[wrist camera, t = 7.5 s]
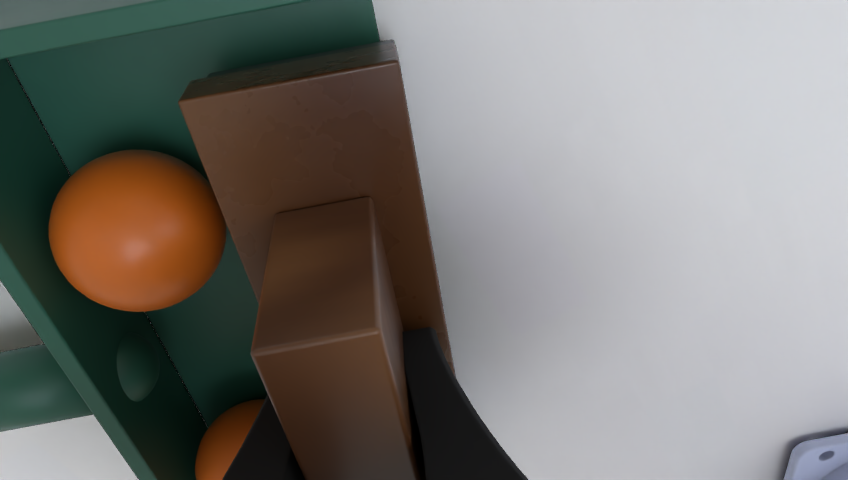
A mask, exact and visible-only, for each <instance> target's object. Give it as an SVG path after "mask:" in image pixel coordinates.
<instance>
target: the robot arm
mask: <svg viewBox="0 0 848 480" xmlns="http://www.w3.org/2000/svg"><path fill="white" fill-rule="evenodd" d="M402 333H403V351H404V365H405V372H406V376H407V380H408V385H409V389H410V393H411V398H412V402H413V406H414V410H415V415H416V419H417V423H418V428H419V432H420V437H421V443H422V448H423V455H424V465H425V475H426V480H528V479H527V478H526V476H525V475H524V474H523V473H522V472H521V471H520V470H519V468H518V467H517V466H516V465H515V463H514V462H513V461H512V460H511V458H510V457H509V456H508V455H507V454H506V452H505V451H504V450H503V448H502V447H501V446H500V445H499V443H498V442H497V441H496V439H495V438H494V437H493V435H492V434H491V432H490V431H489V430H488V428H487V427H486V425H485V424H484V422H483V421H482V420H481V418H480V417H479V415H478V414H477V412H476V411H475V409H474V408H473V406H472V404H471V403H470V401H469V400H468V398H467V396H466V395H465V393H464V391H463V390H462V388H461V386H460V385H459V383H458V381H457V379H456V377H455V376H454V374H453V372H452V370H451V368H450V366H449V364H448V362H447V360H446V358H445V355H444V353H443V351H442V348H441V346H440V343H439V340H438V337H437V333H436V330H435V329H433V328H431V327H426V328H420V329H415V330H410V331H404V332H402ZM222 480H305V478H304V476H303V473H302V471H301V469H300V467H299V464H298V462H297V460H296V457H295V455H294V453H293V451H292V448H291V446H290V444H289V441H288V439H287V437H286V434H285V432H284V430H283V428H282V425H281V423H280V421H279V418H278V416H277V414H276V412H275V409H274V407H273V405H272V402H271V400H270V398H269V396H268V394H267V396H266V398H265V401H264V403H263V405H262V407H261V409H260V411H259V413H258V415H257V417H256V419H255V421H254V423H253V425H252V427H251V429H250V430H249V432H248V434H247V436H246V438H245V440H244V442H243V444H242V446H241V448H240V449H239V451H238V453H237V454H236V456H235V458H234V460H233V461H232V463H231V465H230V467H229V468H228V470H227V472H226V473H225V475H224V477H223V479H222ZM784 480H848V433H845V434H840V435H834V436H829V437H824V438H818V439H813V440H808V441H804V442H802V443H800V444H798V445H797V446H795V447H794V449H793V450H792V452H791V456H790V459H789V463H788V466H787V470H786V473H785V476H784Z"/></svg>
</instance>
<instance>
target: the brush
mask: <svg viewBox="0 0 848 480" xmlns="http://www.w3.org/2000/svg"><path fill="white" fill-rule="evenodd" d="M178 104H179V107H180V109H181V112H182V114H183V117H184V119H185V122H186V124H187V127H188V129H189V132H190V134H191V137H192V139H193V142H194V144H195V147H196V149H197V152H198V154H199V157H200V159H201V162H202V164H203V167H204V169H205V172H206V174H207V177H208V179H209V182H210V184H211V187H212V189H213V192H214V194H215V197H216V199H217V202H218V204H219V207H220V209H221V212H222V214H223V217H224V219H225V222H226V224H227V227H228V229H229V232H230V234H231V237H232V239H233V242H234V244H235V247H236V249H237V252H238V254H239V257H240V259H241V262H242V264H243V267H244V269H245V272H246V274H247V277H248V279H249V282H250V284H251V287H252V289H253V292H254V294H255V297H256V299H257V302H258V304H259V308H258V313H257V319H256V325H255V330H254V336H253V342H252V347H251V357H252V359H253V361H254V364H255V366H256V368H257V370H258V373H259V375H260V377H261V380H262V382H263V384H264V386H265V389H266V391H267V393H268V396H269V398H270V400H271V402H272V405H273V407H274V409H275V412H276V414H277V416H278V418H279V421H280V423H281V425H282V428H283V430H284V432H285V434H286V437H287V439H288V441H289V444H290V446H291V448H292V451H293V453H294V455H295V457H296V460H297V462H298V464H299V467H300V469H301V471H302V473H303V476H304V478H305V480H426V475H425V465H424V455H423V448H422V443H421V437H420V432H419V428H418V423H417V419H416V415H415V410H414V406H413V402H412V398H411V393H410V389H409V385H408V380H407V376H406V372H405V365H404V351H403V333H402V332H404V331H410V330H415V329H420V328H426V327H431V328H433V329H435V330H436V333H437V337H438V340H439V343H440V346H441V348H442V351H443V353H444V355H445V358H446V360H447V362H448V364H449V366H450V368H451V370H452V372H453V374H454V376H455V370H454V365H453V359H452V354H451V348H450V342H449V337H448V331H447V326H446V320H445V314H444V309H443V303H442V298H441V292H440V286H439V281H438V275H437V270H436V264H435V259H434V253H433V247H432V242H431V236H430V231H429V225H428V219H427V214H426V208H425V203H424V197H423V191H422V186H421V180H420V175H419V169H418V163H417V158H416V152H415V147H414V141H413V136H412V130H411V124H410V119H409V113H408V108H407V102H406V96H405V91H404V85H403V80H402V74H401V68H400V63H399V58H398V54H397V49H396V45H395V42H394V41H393V40H386V41H381V42H375V43H370V44H364V45H359V46H354V47H348V48H343V49H338V50H332V51H327V52H321V53H316V54H311V55H305V56H300V57H295V58H289V59H284V60H279V61H273V62H268V63H262V64H257V65H252V66H246V67H241V68H236V69H230V70H225V71H220V72H214V73H210V74H208V76H207V77H206V78H201V79H196V80H191V81H190V82H189V84H188V85H187V87H186V89H185V90H184V92H183V94H182V96H181V97H180V99H179V101H178ZM455 377H456V376H455Z"/></svg>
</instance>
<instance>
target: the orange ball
mask: <svg viewBox="0 0 848 480" xmlns="http://www.w3.org/2000/svg"><path fill="white" fill-rule="evenodd" d="M264 401H265V399H257V400H250V401H246V402H243V403H240V404H237V405H235V406H233V407H231V408H230V409H228V410H226V411H225V412H224V413H222V414H221V415H220V416H219V417H218V418H217V419H216V420H215V421H214V422H213V423H212V424H211V425H210V426H209V428H208V429H207V431H206V432H205V434H204V436H203V438H202V440H201V442H200V445H199V447H198V451H197V455H196V461H195V476H196V480H222V479H223V477H224V475H225V473H226V472H227V470H228V468H229V467H230V465H231V463H232V461H233V460H234V458H235V456H236V454H237V453H238V451H239V449H240V448H241V446H242V444H243V442H244V440H245V438H246V436H247V434H248V432H249V430H250V429H251V427H252V425H253V423H254V421H255V419H256V417H257V415H258V413H259V411H260V409H261V407H262V405H263V403H264Z"/></svg>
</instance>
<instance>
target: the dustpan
mask: <svg viewBox="0 0 848 480" xmlns="http://www.w3.org/2000/svg"><path fill="white" fill-rule="evenodd" d="M375 42H380V40H379V35H378V30H377V25H376V20H375V14H374V9H373V4H372V0H0V280H1V282H2V283H3V285H4V286H5V288H6V289H7V290H8V292H9V293H10V295H11V296H12V298H13V299H14V301H15V302H16V303H17V305H18V306H19V308H20V309H21V311H22V312H23V314H24V315H25V316H26V318H27V319H28V321H29V322H30V324H31V325H32V326H33V328H34V329H35V331H36V332H37V334H38V335H39V337H40V338H41V339H42V341H43V342H44V344H42V345H36V346H31V347H26V348H20V349H15V350H10V351H4V352H0V432H2V431H7V430H13V429H18V428H23V427H29V426H34V425H39V424H45V423H50V422H55V421H61V420H66V419H71V418H77V417H82V416H87V415H93V414H94V416H95V417H96V419H97V420H98V422H99V423H100V424H101V426H102V427H103V429H104V430H105V432H106V433H107V435H108V436H109V437H110V439H111V440H112V442H113V443H114V445H115V446H116V448H117V449H118V450H119V452H120V453H121V455H122V456H123V458H124V459H125V461H126V462H127V463H128V465H129V466H130V468H131V469H132V471H133V472H134V473H135V475H136V476H137V478H138V479H139V480H196V476H195V461H196V455H197V451H198V447H199V445H200V442H201V440H202V438H203V436H204V434H205V432H206V431H207V429H208V428H209V426H210V425H211V424H212V423H213V422H214V421H215V420H216V419H217V418H218V417H219V416H220V415H221V414H222V413H224V412H225V411H226V410H228V409H230V408H231V407H233V406H235V405H237V404H240V403H243V402H246V401H250V400H257V399H265V398H266V396H267V394H268V393H267V391H266V389H265V386H264V384H263V382H262V380H261V377H260V375H259V373H258V370H257V368H256V366H255V364H254V361H253V359H252V357H251V347H252V342H253V336H254V330H255V325H256V319H257V313H258V308H259V304H258V302H257V299H256V297H255V294H254V292H253V289H252V287H251V284H250V282H249V279H248V277H247V274H246V272H245V269H244V267H243V264H242V262H241V259H240V257H239V254H238V252H237V249H236V247H235V244H234V242H233V239H232V237H231V234H230V232H229V229H228V227H227V224H226V229H227V235H226V243H225V248H224V252H223V255H222V258H221V260H220V263H219V265H218V267H217V269H216V270H215V272H214V274H213V275H212V276H211V277H210V279H209V280H208V281H207V282H206V283H205V284H204V286H203V287H201V288H200V289H199V290H198V291H197V292H196V293H194V294H193V295H191V296H190V297H188V298H187V299H185V300H183V301H181V302H179V303H177V304H175V305H172V306H170V307H166V308H163V309H159V310H153V311H145V312H146V314H147V316H148V318H149V320H150V321H151V323H152V325H153V327H154V329H155V331H156V332H157V334H158V336H159V338H160V340H161V342H162V343H163V345H164V347H165V349H166V351H167V353H168V354H169V356H170V358H171V360H172V362H173V364H174V365H175V367H176V369H177V371H178V373H179V375H180V376H181V378H182V380H183V382H184V384H185V386H186V388H187V389H188V391H189V393H190V395H191V397H192V399H193V400H194V402H195V404H196V406H197V408H198V410H199V411H200V413H201V415H202V417H203V419H204V421H205V422H206V424H207V426H208V428H207V426H206V424H205V423H204V421H203V419H202V417H201V415H200V413H199V412H198V410H197V408H196V406H195V404H194V402H193V401H192V399H191V397H190V395H189V393H188V391H187V390H186V388H185V386H184V384H183V382H182V380H181V379H180V377H179V375H178V373H177V371H176V369H175V368H174V366H173V364H172V362H171V360H170V358H169V357H168V355H167V353H166V351H165V349H164V347H163V346H162V344H161V342H160V340H159V338H158V336H157V335H156V333H155V331H154V329H153V327H152V325H151V324H150V322H149V320H148V318H147V316H146V315H145V313H144V312H132V311H123V310H118V309H113V308H110V307H107V306H104V305H101V304H99V303H97V302H95V301H93V300H91V299H89V298H88V297H86V296H85V295H83V294H82V293H81V292H79V291H78V290H77V289H75V288H74V287H73V286H72V285H71V284H70V283H69V282H68V280H67V279H66V278H65V276H64V275H63V274H62V272H61V271H60V270H59V268H58V266H57V264H56V262H55V260H54V257H53V254H52V251H51V247H50V242H49V227H48V226H49V219H50V213H51V209H52V206H53V203H54V201H55V199H56V196H57V194H58V193H59V191H60V189H61V188H62V186H63V185H64V184H65V182H66V181H67V180H68V179H69V178H70V175H69V173H70V174H71V176H72V175H73V174H74V173H75V172H76V171H77V170H78V169H80V168H81V167H83V166H84V165H85V164H87V163H89V162H90V161H92V160H94V159H96V158H98V157H101V156H104V155H106V154H109V153H113V152H117V151H123V150H151V151H157V152H161V153H164V154H168V155H171V156H173V157H175V158H178V159H180V160H182V161H184V162H185V163H187V164H189V165H190V166H192V167H193V168H194V169H196V170H197V171H198V172H199V173H201V174H202V176H203V177H204V178H205V179H206V180H207V181H208V182H209V179H208V177H207V174H206V172H205V169H204V167H203V164H202V162H201V159H200V157H199V154H198V152H197V149H196V147H195V144H194V142H193V139H192V137H191V134H190V132H189V129H188V127H187V124H186V122H185V119H184V117H183V114H182V112H181V109H180V107H179V104H178V101H179V99H180V97H181V96H182V94H183V92H184V90H185V89H186V87H187V85H188V84H189V82H190V81H191V80H196V79H201V78H206V77H207V76H208V74H210V73H214V72H220V71H225V70H230V69H236V68H241V67H246V66H252V65H257V64H262V63H268V62H273V61H279V60H284V59H289V58H295V57H300V56H305V55H311V54H316V53H321V52H327V51H332V50H338V49H343V48H348V47H354V46H359V45H364V44H370V43H375ZM6 58H7V59H8V61H9V62H10V64H11V66H12V68H13V70H14V72H15V73H16V75H17V77H18V79H19V81H20V83H21V84H22V86H23V88H24V90H25V92H26V94H27V95H28V97H29V99H30V101H31V103H32V105H33V106H34V108H35V110H36V112H37V114H38V116H39V117H40V119H41V121H42V123H43V125H44V127H45V129H46V130H47V132H48V134H49V136H50V138H51V140H52V141H53V143H54V145H55V147H56V149H57V151H58V152H59V154H60V156H61V158H62V160H63V162H64V163H65V165H66V167H67V169H68V171H69V173H68V172H67V170H66V168H65V166H64V164H63V162H62V161H61V159H60V157H59V155H58V153H57V151H56V150H55V148H54V146H53V144H52V142H51V140H50V139H49V137H48V135H47V133H46V131H45V129H44V128H43V126H42V124H41V122H40V120H39V118H38V117H37V115H36V113H35V111H34V109H33V108H32V106H31V104H30V102H29V100H28V98H27V97H26V95H25V93H24V91H23V89H22V87H21V86H20V84H19V82H18V80H17V78H16V76H15V75H14V73H13V71H12V69H11V67H10V65H9V64H8V62H7V60H6ZM209 183H210V182H209Z"/></svg>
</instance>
